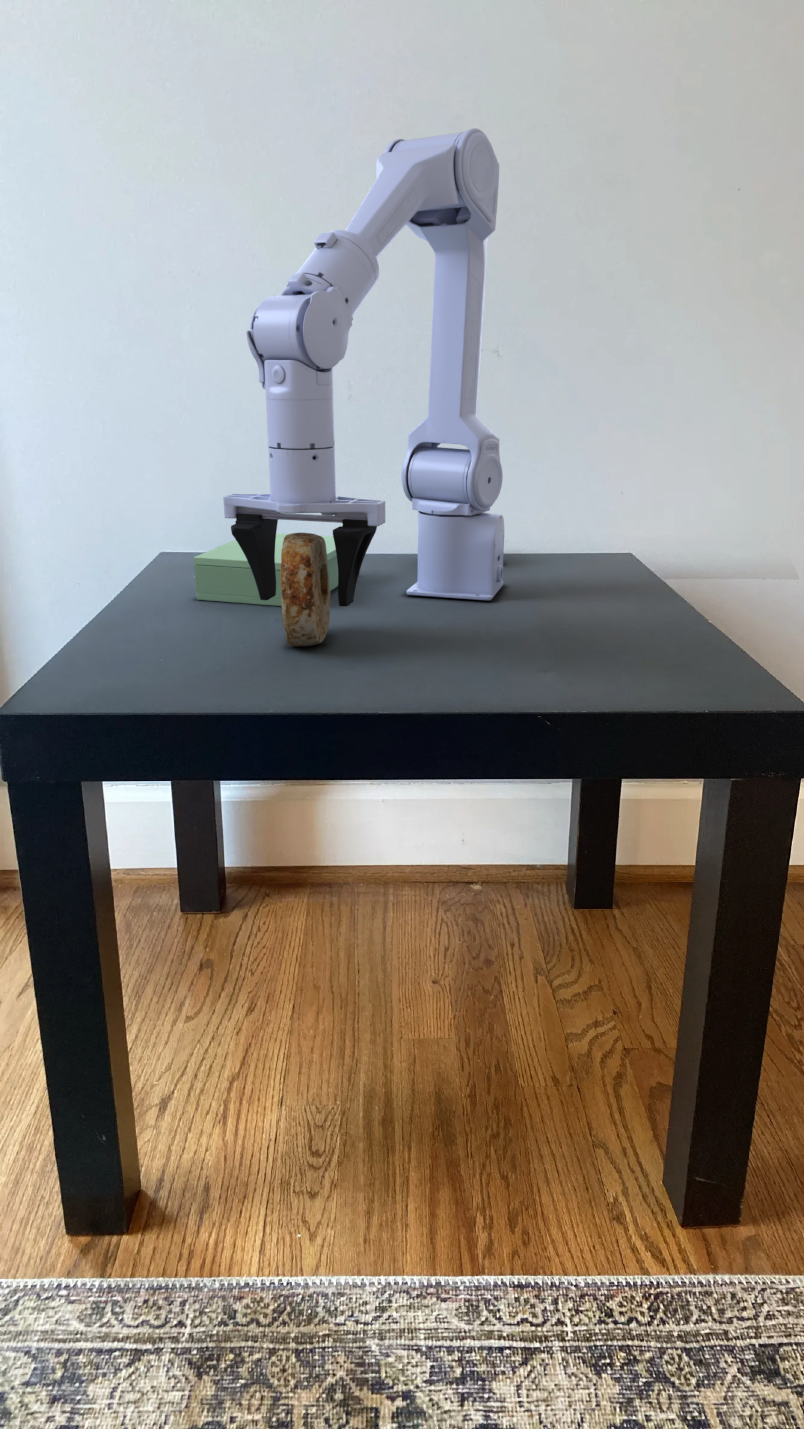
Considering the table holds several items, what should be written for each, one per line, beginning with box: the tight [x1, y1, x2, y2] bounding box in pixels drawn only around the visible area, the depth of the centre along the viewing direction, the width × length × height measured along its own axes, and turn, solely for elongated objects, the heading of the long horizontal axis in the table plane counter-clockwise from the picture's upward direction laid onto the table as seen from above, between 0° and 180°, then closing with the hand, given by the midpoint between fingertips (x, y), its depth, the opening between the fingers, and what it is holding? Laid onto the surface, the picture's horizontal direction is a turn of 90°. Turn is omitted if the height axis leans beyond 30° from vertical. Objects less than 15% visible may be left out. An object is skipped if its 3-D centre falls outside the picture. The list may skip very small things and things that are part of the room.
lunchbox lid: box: [193, 532, 337, 570], centre depth 106 cm, size 13×16×1 cm
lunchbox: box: [193, 556, 338, 607], centre depth 106 cm, size 13×16×4 cm
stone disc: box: [281, 532, 331, 647], centre depth 85 cm, size 10×4×10 cm, turn 176°
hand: (306, 600), depth 86 cm, fingers open, 7 cm apart
